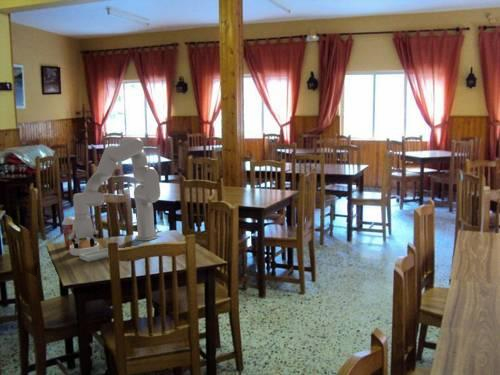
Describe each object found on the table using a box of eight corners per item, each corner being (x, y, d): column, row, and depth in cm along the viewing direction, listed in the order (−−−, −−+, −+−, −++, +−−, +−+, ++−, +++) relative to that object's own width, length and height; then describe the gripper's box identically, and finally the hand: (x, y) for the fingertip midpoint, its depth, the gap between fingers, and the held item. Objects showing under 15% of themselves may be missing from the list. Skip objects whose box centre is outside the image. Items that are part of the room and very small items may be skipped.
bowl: (90, 246, 291) (90, 240, 291) (104, 251, 281) (104, 244, 280) (65, 252, 281) (64, 245, 280) (78, 257, 271) (77, 250, 270)
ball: (87, 248, 285) (86, 237, 284) (92, 250, 281) (91, 239, 280) (76, 250, 281) (76, 239, 280) (82, 252, 277) (81, 241, 276)
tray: (107, 251, 279) (107, 247, 279) (116, 255, 273) (116, 250, 273) (79, 258, 268) (79, 254, 268) (88, 261, 262) (87, 257, 262)
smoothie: (82, 244, 295) (79, 209, 292) (76, 248, 287) (73, 212, 284) (68, 244, 296) (65, 209, 293) (61, 248, 288) (58, 212, 285)
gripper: (93, 213, 287) (96, 244, 289) (63, 218, 275) (65, 250, 277) (100, 214, 281) (102, 246, 284) (69, 220, 269) (72, 253, 272)
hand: (84, 248), depth 281 cm, fingers open, 8 cm apart
